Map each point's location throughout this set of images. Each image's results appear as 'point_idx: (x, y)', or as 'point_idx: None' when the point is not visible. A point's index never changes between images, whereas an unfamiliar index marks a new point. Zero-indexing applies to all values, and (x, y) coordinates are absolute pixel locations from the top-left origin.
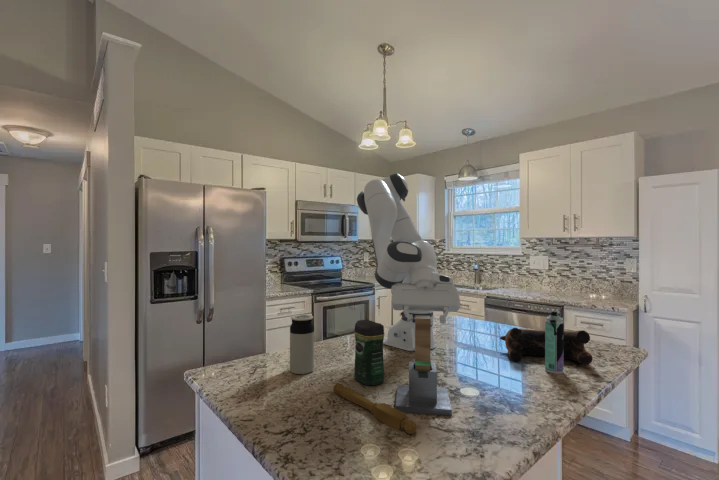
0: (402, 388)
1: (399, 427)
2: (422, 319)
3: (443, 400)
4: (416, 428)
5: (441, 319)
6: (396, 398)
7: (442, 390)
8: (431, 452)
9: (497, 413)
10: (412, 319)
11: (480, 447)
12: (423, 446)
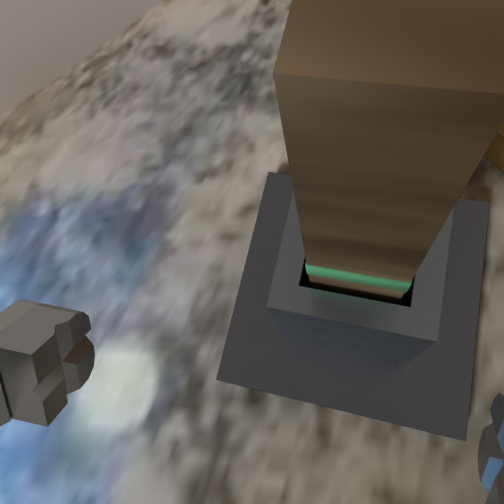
0: (441, 381)
1: None
2: None
3: (275, 244)
4: None
5: (67, 309)
6: (481, 269)
7: (247, 343)
8: None
9: (111, 197)
10: (499, 393)
11: (253, 29)
12: None
